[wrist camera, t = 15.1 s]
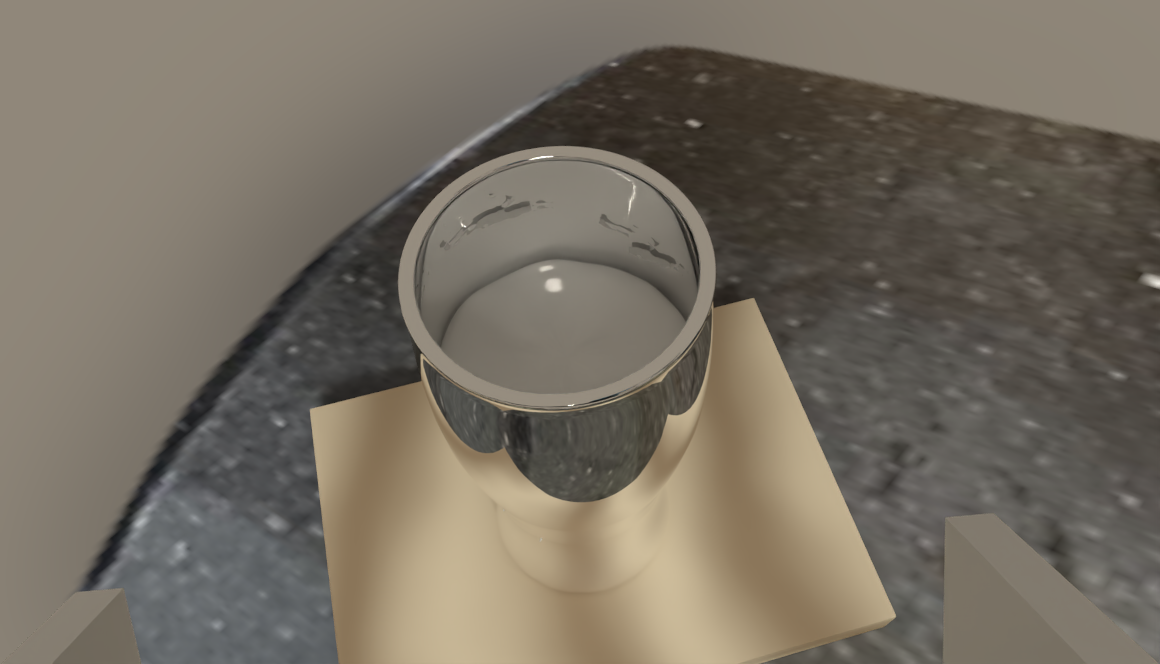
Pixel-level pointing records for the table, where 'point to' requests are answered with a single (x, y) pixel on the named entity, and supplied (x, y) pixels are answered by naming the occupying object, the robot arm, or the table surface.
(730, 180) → the table surface
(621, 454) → the beer glass
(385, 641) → the board
